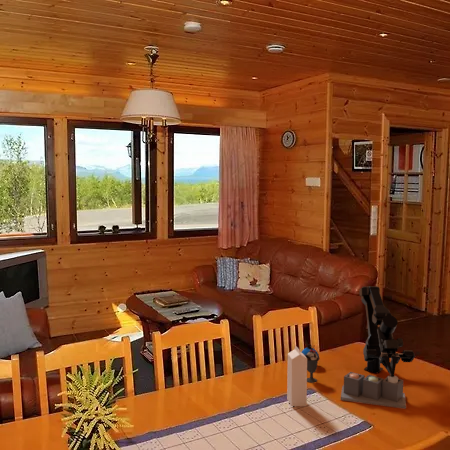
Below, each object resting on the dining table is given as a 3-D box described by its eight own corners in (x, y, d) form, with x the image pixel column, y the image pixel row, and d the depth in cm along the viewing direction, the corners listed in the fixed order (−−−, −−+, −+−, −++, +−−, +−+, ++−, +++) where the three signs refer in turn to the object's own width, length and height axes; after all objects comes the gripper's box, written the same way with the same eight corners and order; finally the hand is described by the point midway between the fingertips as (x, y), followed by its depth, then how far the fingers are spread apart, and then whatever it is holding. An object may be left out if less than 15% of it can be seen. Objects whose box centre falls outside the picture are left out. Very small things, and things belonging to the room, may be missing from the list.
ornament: (319, 363, 226) (320, 342, 225) (317, 370, 217) (317, 348, 216) (301, 361, 228) (301, 340, 227) (298, 367, 220) (298, 346, 219)
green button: (370, 385, 191) (370, 375, 191) (379, 387, 189) (379, 378, 189) (366, 388, 188) (366, 378, 188) (375, 391, 186) (376, 381, 186)
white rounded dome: (389, 384, 190) (390, 374, 190) (399, 386, 188) (399, 376, 187) (386, 387, 187) (386, 377, 187) (395, 390, 185) (395, 380, 184)
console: (342, 388, 199) (343, 369, 198) (404, 396, 191) (405, 376, 191) (340, 400, 188) (341, 380, 187) (405, 408, 181) (406, 388, 180)
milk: (301, 399, 189) (302, 344, 187) (306, 406, 183) (307, 350, 181) (286, 400, 188) (287, 345, 186) (291, 407, 182) (292, 350, 180)
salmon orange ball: (351, 382, 194) (352, 372, 194) (360, 384, 192) (360, 375, 192) (347, 385, 192) (347, 375, 191) (356, 387, 189) (356, 377, 189)
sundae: (318, 377, 209) (319, 344, 208) (319, 384, 203) (320, 349, 201) (303, 376, 210) (303, 343, 208) (304, 383, 203) (304, 349, 202)
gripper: (366, 329, 191) (372, 367, 181) (414, 330, 190) (422, 368, 180) (361, 342, 200) (366, 378, 190) (407, 343, 199) (415, 380, 189)
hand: (392, 376), depth 187 cm, fingers closed, pressing on white rounded dome
